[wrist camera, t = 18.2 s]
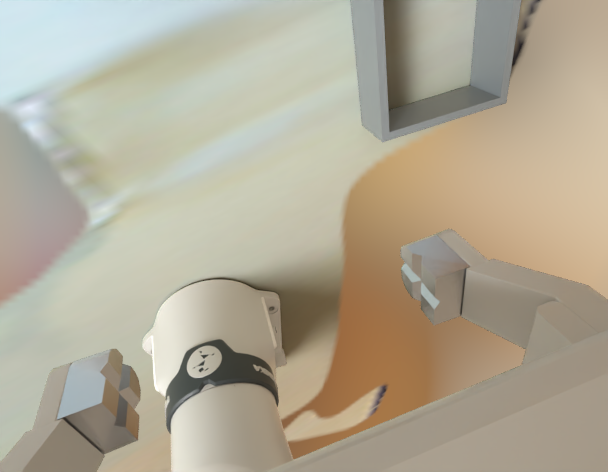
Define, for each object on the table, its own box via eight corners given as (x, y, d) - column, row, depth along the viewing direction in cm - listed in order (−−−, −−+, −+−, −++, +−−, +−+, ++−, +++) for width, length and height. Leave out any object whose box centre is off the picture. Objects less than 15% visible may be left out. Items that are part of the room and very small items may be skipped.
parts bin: (475, 90, 44) (506, 103, 40) (362, 125, 42) (382, 142, 38) (491, -77, 34) (533, -82, 30) (346, -41, 33) (371, -41, 29)
